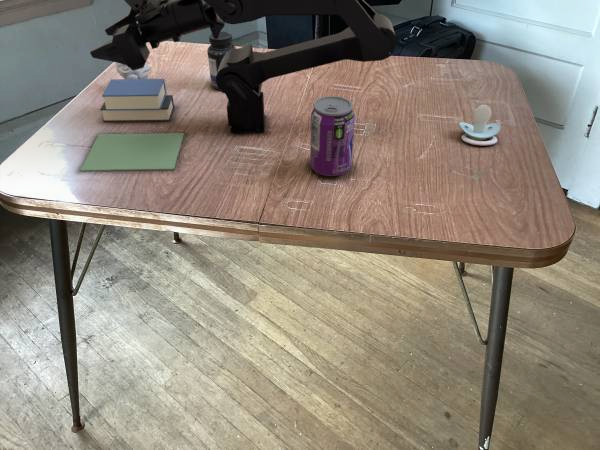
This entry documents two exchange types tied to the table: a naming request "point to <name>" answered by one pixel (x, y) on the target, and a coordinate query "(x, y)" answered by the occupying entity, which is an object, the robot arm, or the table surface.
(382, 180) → the table surface
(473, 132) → the pacifier
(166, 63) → the table surface
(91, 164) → the green mat
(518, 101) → the table surface
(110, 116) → the black notebook
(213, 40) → the pill bottle
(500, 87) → the table surface
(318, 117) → the beverage can
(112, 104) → the blue book
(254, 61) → the robot arm
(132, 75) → the frog figurine
